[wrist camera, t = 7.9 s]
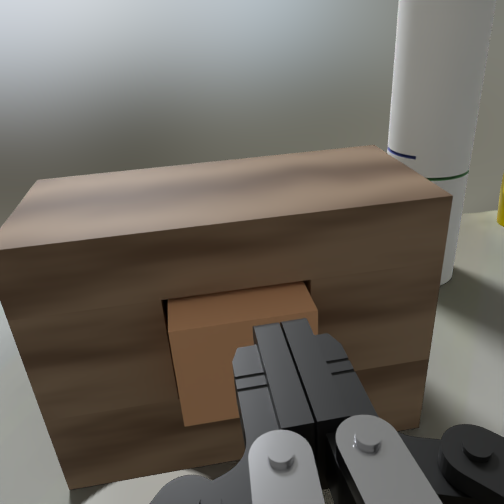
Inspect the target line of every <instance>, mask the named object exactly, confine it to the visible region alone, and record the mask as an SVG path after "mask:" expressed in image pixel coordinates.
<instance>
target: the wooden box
mask: <svg viewBox="0 0 504 504" xmlns="http://www.w3.org/2000/svg"><path fill="white" fill-rule="evenodd" d="M452 200H453V195H451V194H450V193H448V192H447V191H445V190H444V189H442V188H440V187H439V186H437V185H436V184H434V183H433V182H431V181H430V180H428V179H426V178H425V177H423V176H422V175H420V174H419V173H417V172H416V171H414V170H412V169H411V168H409V167H408V166H406V165H405V164H403V163H402V162H400V161H398V160H397V159H395V158H394V157H392V156H391V155H389V154H388V153H386V152H384V151H383V150H381V149H380V148H378V147H377V146H375V145H369V146H359V147H349V148H340V149H330V150H321V151H310V152H301V153H291V154H282V155H273V156H262V157H253V158H244V159H234V160H224V161H215V162H205V163H195V164H186V165H176V166H166V167H157V168H147V169H138V170H128V171H119V172H109V173H100V174H89V175H81V176H70V177H61V178H51V179H41V180H37V181H36V183H35V184H34V185H33V186H32V188H31V189H30V190H29V191H28V193H27V194H26V195H25V197H24V198H23V199H22V201H21V202H20V203H19V205H18V206H17V207H16V209H15V210H14V211H13V213H12V214H11V215H10V216H9V218H8V219H7V220H6V222H5V223H4V224H3V226H2V227H1V228H0V301H1V304H2V307H3V309H4V312H5V315H6V318H7V320H8V323H9V326H10V329H11V331H12V334H13V337H14V340H15V342H16V345H17V348H18V351H19V353H20V356H21V359H22V361H23V364H24V367H25V370H26V372H27V375H28V378H29V381H30V383H31V386H32V389H33V392H34V394H35V397H36V400H37V403H38V405H39V408H40V411H41V414H42V416H43V419H44V422H45V424H46V427H47V430H48V433H49V435H50V438H51V441H52V444H53V446H54V449H55V452H56V455H57V457H58V460H59V463H60V466H61V468H62V471H63V474H64V477H65V479H66V482H67V485H68V487H69V490H72V489H78V488H83V487H89V486H94V485H100V484H106V483H111V482H117V481H122V480H128V479H134V478H139V477H145V476H150V475H156V474H162V473H167V472H172V471H178V470H184V469H190V468H195V467H201V466H206V465H212V464H218V463H223V462H229V461H234V460H240V459H241V458H242V457H243V455H244V452H245V445H244V439H243V434H242V428H241V423H240V418H234V419H228V420H222V421H216V422H210V423H204V424H198V425H192V426H186V427H185V426H184V421H183V415H182V409H181V403H180V398H179V392H178V386H177V381H176V375H175V369H174V363H173V358H172V352H171V346H170V341H169V335H168V299H172V298H180V297H187V296H194V295H202V294H209V293H216V292H224V291H231V290H238V289H246V288H253V287H260V286H267V285H275V284H282V283H289V282H297V281H303V282H304V284H305V286H306V288H307V290H308V292H309V294H310V296H311V298H312V300H313V302H314V303H315V305H316V307H317V309H318V335H319V334H325V333H328V334H330V335H331V336H332V337H333V338H335V339H336V340H337V341H338V342H340V343H341V344H342V346H343V348H344V350H345V352H346V354H347V356H348V360H350V362H351V364H352V366H353V368H354V372H356V374H357V376H358V378H359V380H360V382H361V384H362V386H363V388H364V390H365V391H366V393H367V395H368V397H369V399H370V401H371V403H372V405H373V407H374V409H375V411H376V413H377V415H378V416H379V418H381V419H383V420H385V421H386V422H388V423H389V424H390V425H392V426H393V427H394V429H395V430H396V431H402V430H408V429H413V428H419V423H420V416H421V410H422V403H423V396H424V389H425V383H426V376H427V369H428V362H429V355H430V349H431V342H432V335H433V328H434V322H435V315H436V308H437V301H438V295H439V288H440V281H441V274H442V267H443V261H444V254H445V247H446V240H447V234H448V227H449V220H450V213H451V207H452Z"/></svg>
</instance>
